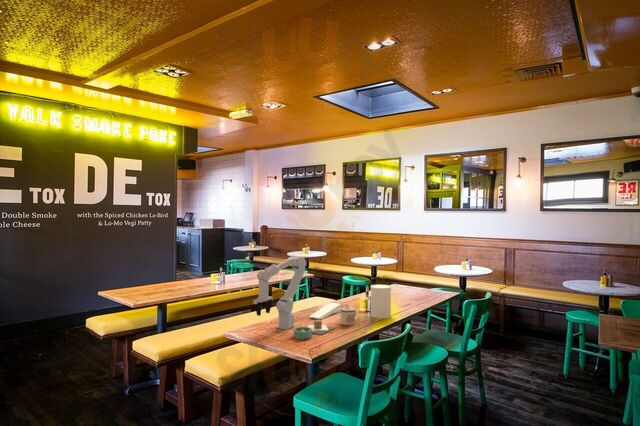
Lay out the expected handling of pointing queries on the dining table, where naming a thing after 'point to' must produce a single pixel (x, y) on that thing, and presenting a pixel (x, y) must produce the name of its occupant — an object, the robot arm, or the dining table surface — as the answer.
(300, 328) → the bowl
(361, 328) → the dining table surface
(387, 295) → the canister
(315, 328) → the cover
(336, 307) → the white wedge ramp
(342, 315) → the teacup with lid
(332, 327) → the mat
